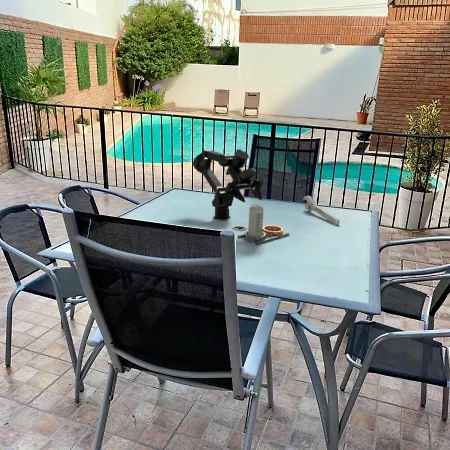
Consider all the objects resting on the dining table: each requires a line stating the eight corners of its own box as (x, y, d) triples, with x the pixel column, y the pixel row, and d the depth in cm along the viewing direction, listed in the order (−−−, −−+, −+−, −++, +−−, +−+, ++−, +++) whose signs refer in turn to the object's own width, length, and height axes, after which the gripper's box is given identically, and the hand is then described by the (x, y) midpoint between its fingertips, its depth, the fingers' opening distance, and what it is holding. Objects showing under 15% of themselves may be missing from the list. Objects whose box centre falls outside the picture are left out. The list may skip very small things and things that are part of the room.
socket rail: (256, 245, 179) (256, 239, 178) (237, 237, 187) (237, 232, 186) (289, 235, 192) (289, 230, 191) (270, 228, 200) (270, 223, 200)
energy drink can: (254, 235, 190) (256, 203, 185) (264, 239, 186) (266, 206, 181) (244, 238, 186) (246, 205, 181) (255, 242, 182) (257, 208, 177)
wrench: (335, 231, 210) (301, 208, 234) (338, 230, 211) (304, 207, 235) (338, 216, 207) (303, 194, 231) (341, 215, 207) (306, 194, 232)
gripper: (226, 164, 186) (242, 190, 178) (260, 161, 196) (277, 186, 188) (218, 181, 193) (233, 207, 186) (251, 178, 203) (266, 202, 196)
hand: (253, 200), depth 189 cm, fingers open, 9 cm apart
